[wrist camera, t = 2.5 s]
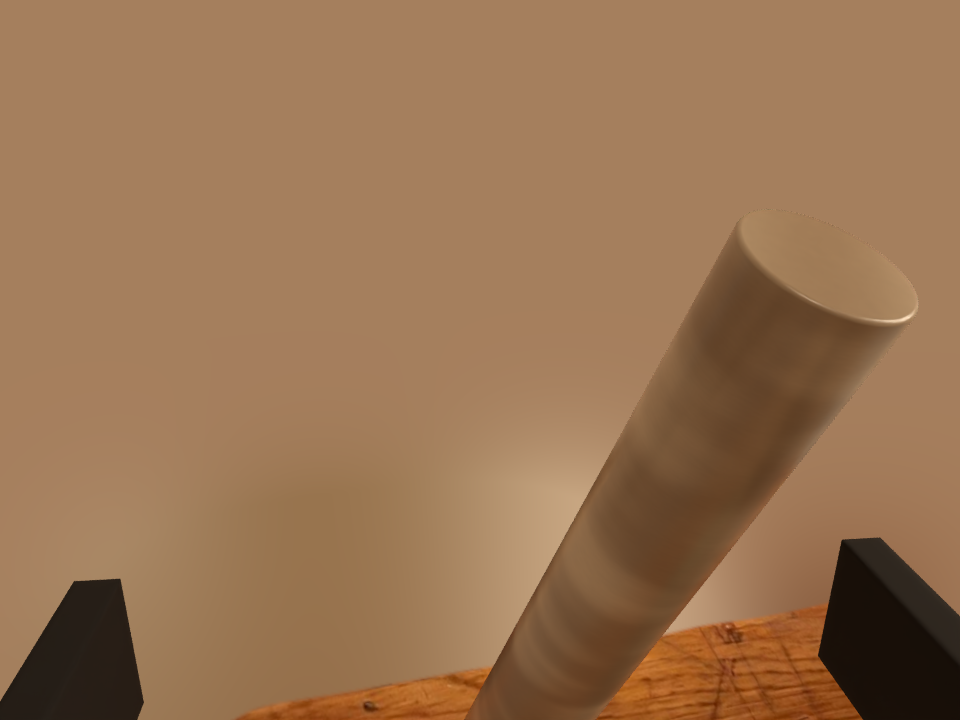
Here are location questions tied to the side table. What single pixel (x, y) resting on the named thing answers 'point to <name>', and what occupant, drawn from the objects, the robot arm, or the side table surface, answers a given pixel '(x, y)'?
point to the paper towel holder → (701, 455)
